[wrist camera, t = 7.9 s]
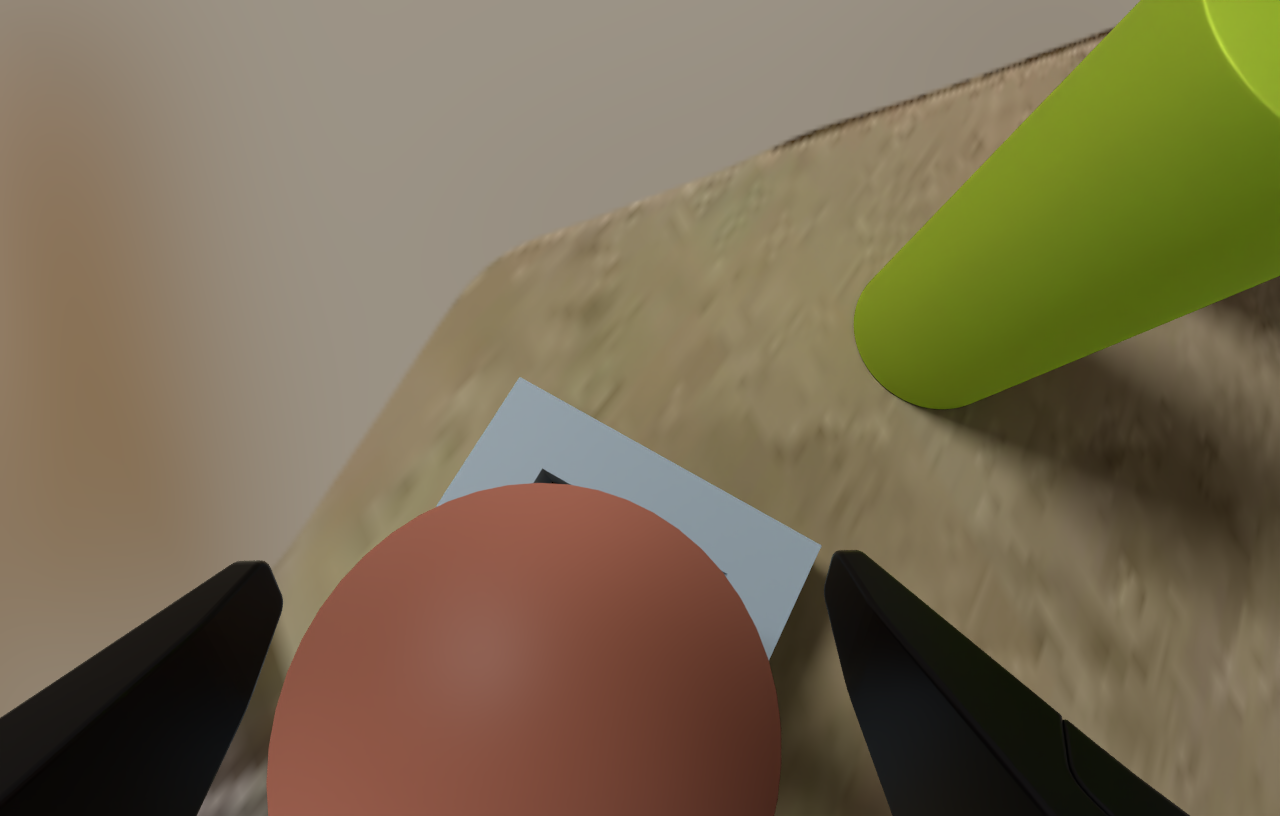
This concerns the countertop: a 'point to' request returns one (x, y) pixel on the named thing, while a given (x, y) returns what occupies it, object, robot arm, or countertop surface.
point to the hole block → (642, 496)
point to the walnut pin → (529, 672)
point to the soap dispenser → (1095, 211)
